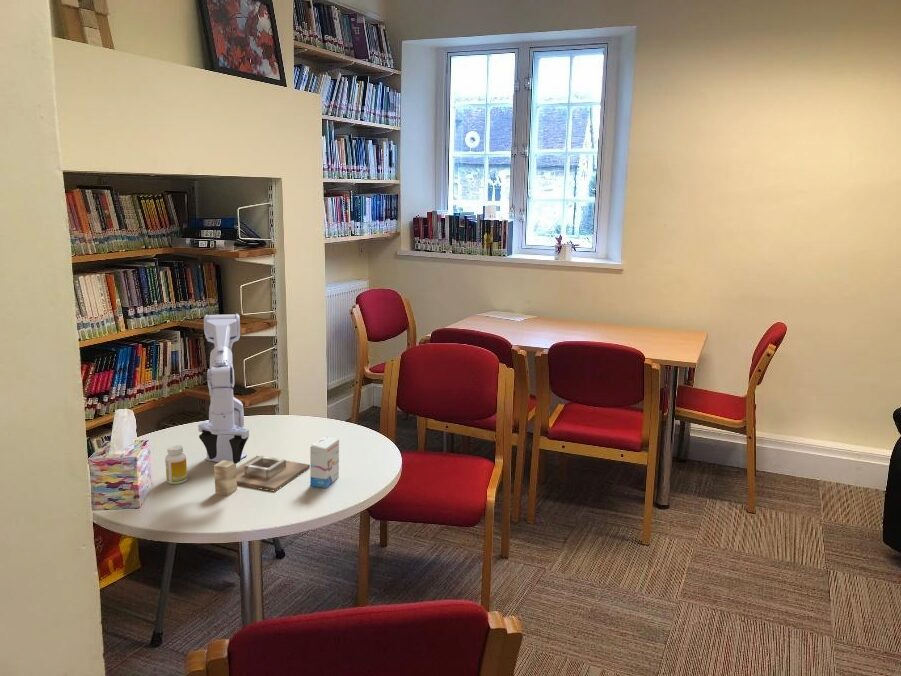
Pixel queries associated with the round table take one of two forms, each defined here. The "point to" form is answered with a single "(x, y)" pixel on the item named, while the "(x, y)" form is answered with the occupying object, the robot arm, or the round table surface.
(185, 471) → the supplement bottle
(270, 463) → the well stand
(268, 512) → the round table surface
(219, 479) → the maple post
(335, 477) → the ink box
